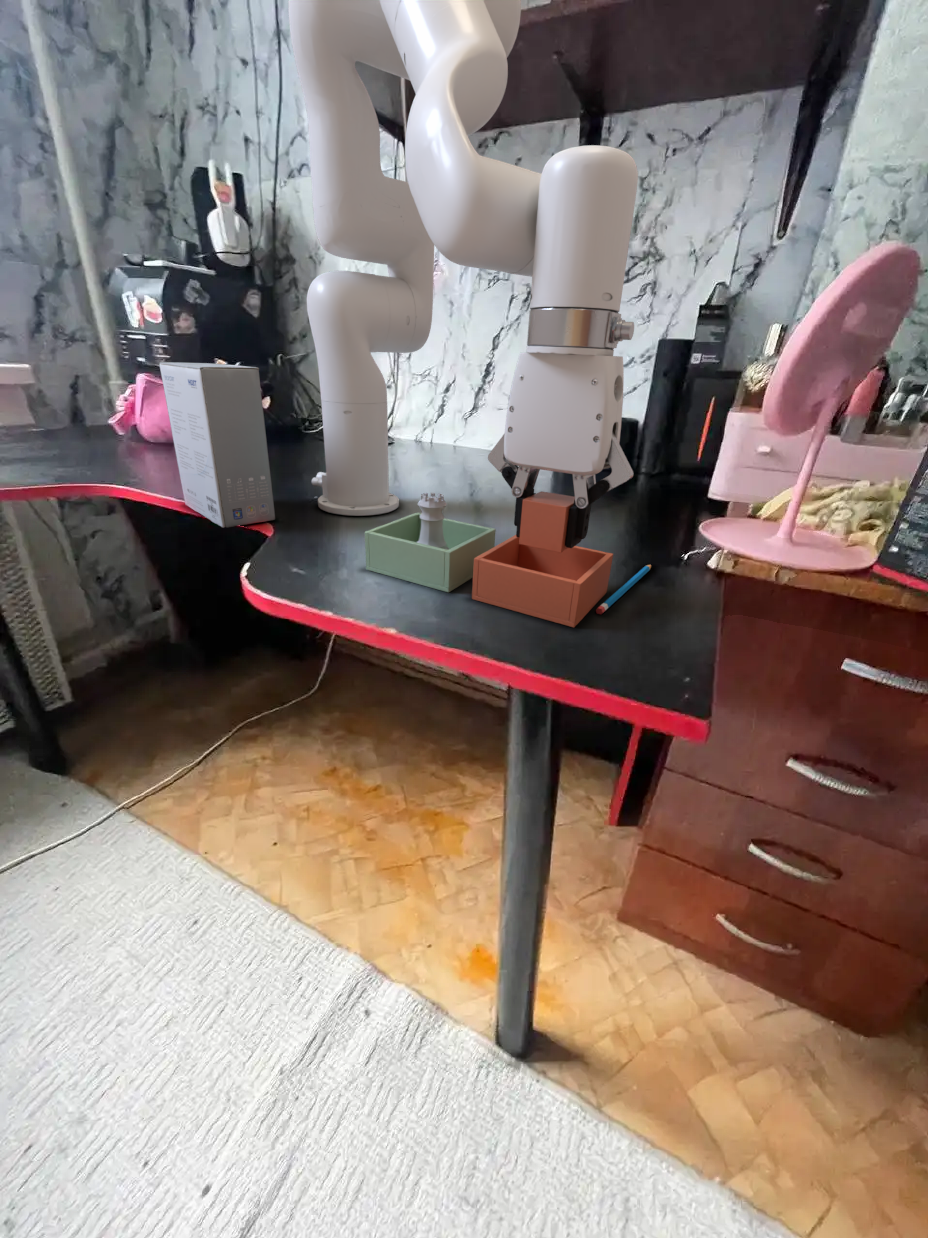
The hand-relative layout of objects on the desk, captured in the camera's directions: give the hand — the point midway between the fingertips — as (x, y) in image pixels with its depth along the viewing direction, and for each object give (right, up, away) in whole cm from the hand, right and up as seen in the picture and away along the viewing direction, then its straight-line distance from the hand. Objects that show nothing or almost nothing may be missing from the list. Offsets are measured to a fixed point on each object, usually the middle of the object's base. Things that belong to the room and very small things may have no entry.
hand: (548, 537), depth 55 cm
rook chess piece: (-12, -2, +9) cm, 15 cm away
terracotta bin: (0, -6, +3) cm, 7 cm away
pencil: (+10, -5, +6) cm, 13 cm away
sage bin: (-12, -2, +9) cm, 16 cm away
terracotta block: (0, -1, 0) cm, 1 cm away
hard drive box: (-43, +7, +25) cm, 51 cm away
